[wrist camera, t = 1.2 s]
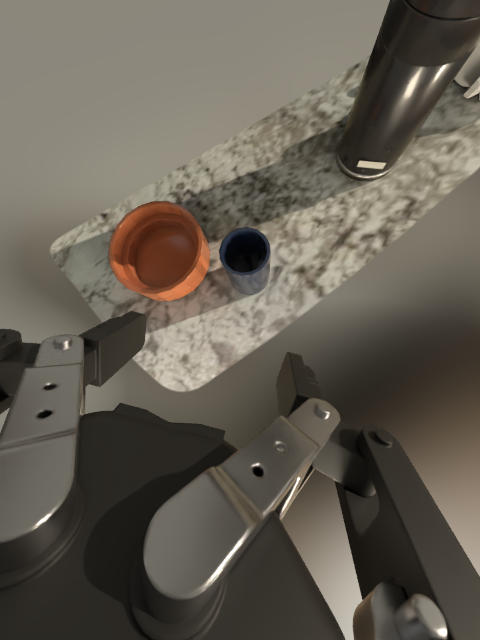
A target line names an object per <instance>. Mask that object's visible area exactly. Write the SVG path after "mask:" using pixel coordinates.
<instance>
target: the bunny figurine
mask: <svg viewBox="0 0 480 640" xmlns="http://www.w3.org/2000/svg"><path fill="white" fill-rule="evenodd" d="M454 79H455V81H456V82H457V83H458V84H460V85H461V86H464V87H470V88H469V89H468V90H467V91H466V93H465V94H464V95H463V96H464V97H466V98H470V97H472V96H474V95H476V94H478V93H479V101H480V42H479V43H478V45H477V46H476V48H475V49H474V51H473V52H472V54H471V55H470V57H469V58H468V59H467V61H466V62H465V64H464V65H463V67H462V68H461V70H460V71H459V73H458V74H457V75H456V77H455V78H454Z"/></svg>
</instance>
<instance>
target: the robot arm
mask: <svg viewBox="0 0 480 640" xmlns="http://www.w3.org/2000/svg"><path fill="white" fill-rule="evenodd" d="M479 42H480V0H390V2H389V5H388V8H387V11H386V14H385V16H384V19H383V22H382V25H381V28H380V31H379V34H378V36H377V39H376V42H375V45H374V48H373V51H372V53H371V56H370V59H369V62H368V65H367V67H366V70H365V73H364V76H363V79H362V81H361V84H360V87H359V90H358V93H357V95H356V98H355V101H354V104H353V107H352V110H351V112H350V115H349V118H348V121H347V123H346V126H345V129H344V132H343V135H342V137H341V139H340V141H339V144H338V147H337V150H336V161H337V164H338V166H339V168H340V169H341V170H342V171H343V172H344V173H345V174H346V175H348V176H349V177H351V178H354V179H357V180H363V181H369V180H375V179H378V178H381V177H383V176H385V175H386V174H388V173H389V172H390V171H391V170H392V169H393V168H394V166H395V165H396V163H397V162H398V160H399V158H400V156H401V155H402V153H403V152H404V151H405V149H406V148H407V146H408V145H409V144H410V142H411V141H412V139H413V138H414V136H415V135H416V133H417V132H418V130H419V129H420V128H421V126H422V125H423V123H424V122H425V120H426V119H427V117H428V116H429V115H430V113H431V112H432V110H433V109H434V107H435V106H436V104H437V103H438V101H439V100H440V99H441V97H442V96H443V94H444V93H445V91H446V90H447V88H448V87H449V86H450V84H451V83H452V81H453V80H454V78H455V77H456V75H457V74H458V73H459V71H460V70H461V68H462V67H463V65H464V64H465V62H466V61H467V59H468V58H469V57H470V55H471V54H472V52H473V51H474V49H475V48H476V46H477V45H478V43H479ZM146 320H147V318H146V315H145V314H141V313H137V312H133V311H130V312H128V313H127V314H125V315H123V316H121V317H117V318H113V319H109V320H107V321H105V322H103V323H102V324H99V325H98V326H96V327H94V328H92V329H90V330H88V331H86V332H84V333H82V334H81V335H79V336H76V335H57V336H53V337H49V338H47V339H45V340H44V341H42V343H41V344H37V343H22V339H21V334H20V333H19V332H18V331H15V330H11V329H0V414H1V413H3V412H4V411H5V410H7V409H8V408H10V410H9V412H8V414H7V417H6V420H5V422H4V425H3V428H2V430H1V433H0V640H345V638H344V635H343V633H342V631H341V629H340V627H339V625H338V623H337V621H336V619H335V617H334V615H333V613H332V612H331V610H330V608H329V606H328V604H327V603H326V601H325V599H324V597H323V595H322V594H321V592H320V590H319V588H318V586H317V585H316V583H315V581H314V579H313V578H312V576H311V574H310V572H309V570H308V569H307V567H306V565H305V563H304V561H303V560H302V558H301V556H300V554H299V552H298V551H297V549H296V547H295V545H294V544H293V542H292V540H291V538H290V537H289V535H288V533H287V531H286V529H285V528H284V526H283V524H282V522H281V520H282V518H283V517H284V515H285V513H286V512H287V510H288V508H289V506H290V505H291V503H292V501H293V500H294V499H295V497H296V495H297V494H298V493H299V491H300V490H301V488H302V487H303V485H304V484H305V482H306V481H307V479H308V478H309V476H310V475H311V474H312V472H313V471H314V469H316V470H318V471H320V472H321V473H323V474H325V475H327V476H328V477H330V478H332V479H333V480H335V484H336V489H337V493H338V497H339V501H340V506H341V510H342V514H343V519H344V523H345V527H346V531H347V535H348V539H349V544H350V548H351V553H352V556H353V561H354V565H355V570H356V574H357V579H358V582H359V587H360V591H361V596H362V600H363V601H362V602H361V603H360V604H359V605H358V606H357V608H356V610H355V612H354V617H353V633H354V640H480V577H479V575H478V573H477V572H476V570H475V568H474V567H473V565H472V563H471V562H470V560H469V558H468V557H467V555H466V553H465V552H464V550H463V548H462V547H461V545H460V543H459V542H458V540H457V538H456V536H455V535H454V533H453V532H452V530H451V528H450V526H449V525H448V523H447V521H446V520H445V518H444V516H443V515H442V513H441V511H440V510H439V508H438V506H437V505H436V503H435V502H434V500H433V498H432V496H431V495H430V493H429V492H428V490H427V488H426V487H425V485H424V483H423V481H422V480H421V478H420V477H419V475H418V473H417V472H416V470H415V468H414V466H413V465H412V463H411V461H410V460H409V458H408V456H407V455H406V453H405V451H404V450H403V448H402V446H401V445H400V443H399V442H398V441H397V440H396V439H395V437H393V436H392V435H391V434H390V433H389V432H387V431H386V430H384V429H382V428H380V427H378V426H375V425H372V424H366V425H364V426H363V427H362V429H361V431H359V430H357V429H355V428H353V427H351V426H349V425H347V424H345V423H343V422H341V421H340V415H339V413H338V412H337V410H336V409H335V408H334V407H333V406H332V405H330V404H329V403H327V402H325V400H324V397H323V394H322V392H321V389H320V386H319V384H318V381H317V378H316V375H315V373H314V372H313V371H312V369H311V368H310V367H309V366H306V365H304V363H303V359H302V356H301V355H298V354H294V353H290V352H287V353H286V355H285V358H284V361H283V363H282V366H281V369H280V372H279V375H278V378H277V384H276V387H277V399H278V413H279V417H278V418H276V419H275V420H274V421H273V422H272V423H270V424H269V425H268V426H267V427H266V428H264V429H263V430H262V431H261V432H259V433H258V434H257V435H256V436H255V437H254V438H252V439H251V440H250V441H249V442H247V443H246V444H245V445H244V446H242V447H241V448H240V449H239V450H237V449H236V448H235V447H234V446H233V445H231V444H230V443H228V442H227V441H225V440H223V439H224V434H225V431H224V430H221V429H217V428H213V427H209V426H205V425H202V424H191V423H171V422H168V421H166V420H164V419H162V418H160V417H158V416H156V415H155V414H153V413H151V412H149V411H147V410H145V409H141V408H138V407H134V406H130V405H126V404H122V403H120V404H119V405H118V406H117V407H116V408H115V410H113V411H99V412H93V413H88V414H85V393H86V392H85V387H86V386H87V385H88V384H91V385H95V386H98V387H101V386H102V385H103V384H104V383H105V382H106V381H107V380H108V379H109V378H111V377H112V376H113V375H114V374H115V373H116V372H117V371H118V370H119V369H120V368H121V367H123V366H124V365H125V364H126V363H127V362H128V361H129V360H130V359H131V358H133V357H134V356H135V355H136V354H137V353H138V352H139V351H140V350H141V349H142V347H143V345H144V342H145V332H146Z"/></svg>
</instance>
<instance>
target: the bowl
mask: <svg viewBox="0 0 480 640" xmlns="http://www.w3.org/2000/svg"><path fill="white" fill-rule="evenodd" d="M109 260H110V266H111V268H112V270H113V272H114V274H115V276H116V277H117V279H118V280H119V281H120V282H121V283H122V284H123V285H125V286H126V287H127V288H128V289H130V290H132V291H135V292H137V293H139V294H141V295H143V296H146V297H148V298H151V299H153V300H156V301H171V300H175V299H178V298H182V297H184V296H185V295H187V294H188V293H190V292H192V291H193V290H194V289H196V287H197V286H198V285H199V284H200V283H201V281H202V280H203V279H204V277H205V274H206V272H207V270H208V267H209V261H210V249H209V245H208V241H207V239H206V237H205V235H204V233H203V231H202V229H201V227H200V225H199V224H198V222H197V221H196V219H195V218H194V216H193V215H192V213H190V212H189V211H188V210H186V209H185V208H184V207H182V206H181V205H178V204H175V203H172V202H168V201H153V202H150V203H146V204H143V205H140V206H138V207H137V208H135V209H134V210H132V211H131V212H129V213H128V214H126V215H125V217H124V218H123V219H122V220H121V221H120V222H119V224H118V225H117V226H116V228H115V230H114V233H113V235H112V237H111V240H110V246H109Z"/></svg>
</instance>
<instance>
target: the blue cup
mask: <svg viewBox="0 0 480 640" xmlns="http://www.w3.org/2000/svg"><path fill="white" fill-rule="evenodd" d="M219 254H220V261H221V263H222V265H223V267H224V269H225V271H226V273H227V275H228V277H229V279H230V281H231V283H232V284H233V286H234V288H235V289H236V290H237V291H238V292H240V293H242V294H246V295H253V294H257V293H259V292H260V291H262V290H263V289H264V288H265V287H266V285H267V283H268V280H269V272H270V244H269V242H268V240H267V238H266V237H265V235H264V234H262V233H261V232H260V231H258V230H256V229H253V228H249V227H245V228H238V229H236V230H234V231H232V232H230V233H229V234H228V235H227V236H226V237H225V238H224V239H223V241H222V243H221V246H220V249H219Z"/></svg>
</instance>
